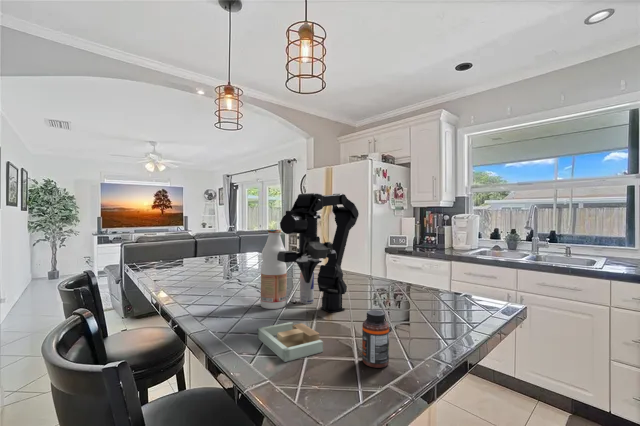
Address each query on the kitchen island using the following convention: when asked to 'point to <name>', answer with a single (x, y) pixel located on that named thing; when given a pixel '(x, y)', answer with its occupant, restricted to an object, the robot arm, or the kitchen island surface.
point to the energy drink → (306, 290)
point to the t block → (298, 335)
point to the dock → (281, 350)
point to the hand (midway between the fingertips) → (307, 282)
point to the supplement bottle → (375, 340)
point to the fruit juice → (273, 273)
